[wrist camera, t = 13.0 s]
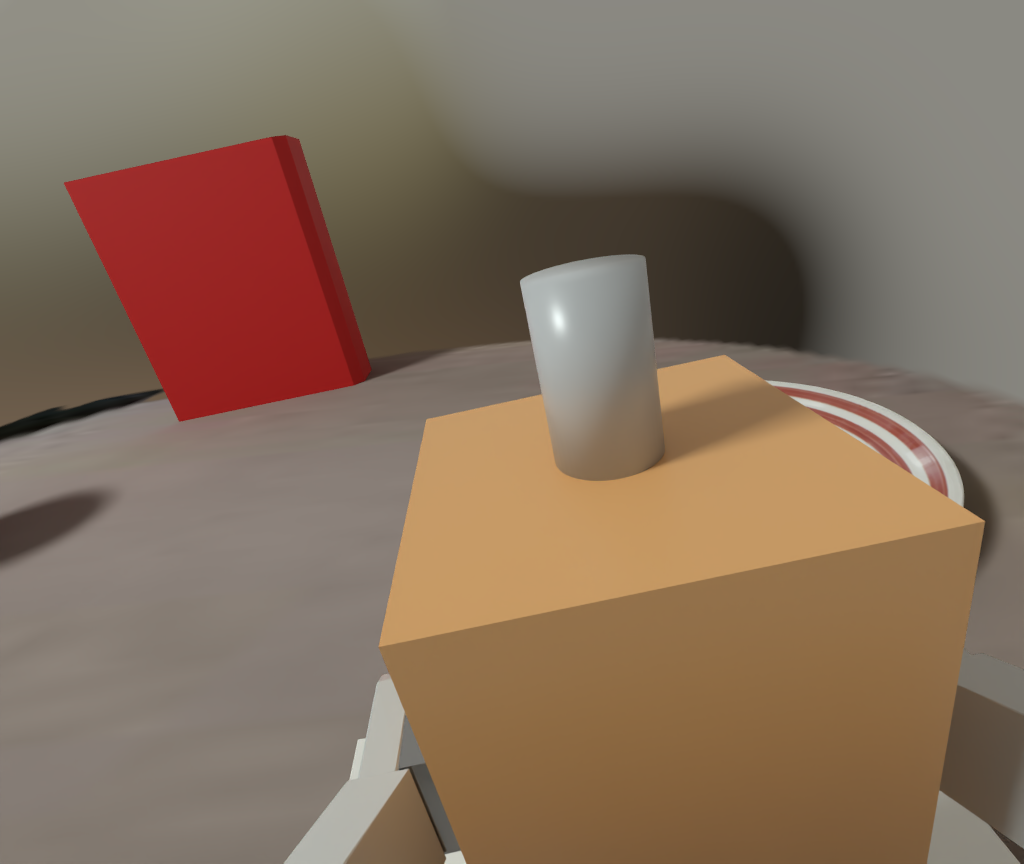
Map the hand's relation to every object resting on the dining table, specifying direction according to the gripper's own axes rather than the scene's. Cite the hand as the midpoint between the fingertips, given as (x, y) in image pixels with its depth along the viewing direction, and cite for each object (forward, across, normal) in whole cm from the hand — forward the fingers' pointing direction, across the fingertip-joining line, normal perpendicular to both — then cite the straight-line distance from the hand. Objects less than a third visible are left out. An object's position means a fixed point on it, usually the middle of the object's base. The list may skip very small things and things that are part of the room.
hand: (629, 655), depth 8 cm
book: (+74, +36, +14) cm, 83 cm away
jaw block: (-1, 0, +7) cm, 7 cm away
